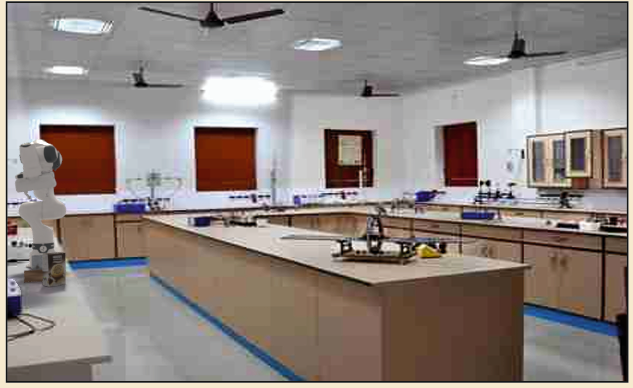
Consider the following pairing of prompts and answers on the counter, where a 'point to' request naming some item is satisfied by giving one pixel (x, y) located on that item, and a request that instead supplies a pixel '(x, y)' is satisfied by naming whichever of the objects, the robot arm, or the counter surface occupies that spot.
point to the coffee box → (54, 269)
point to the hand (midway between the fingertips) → (38, 197)
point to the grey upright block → (37, 262)
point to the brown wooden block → (33, 276)
